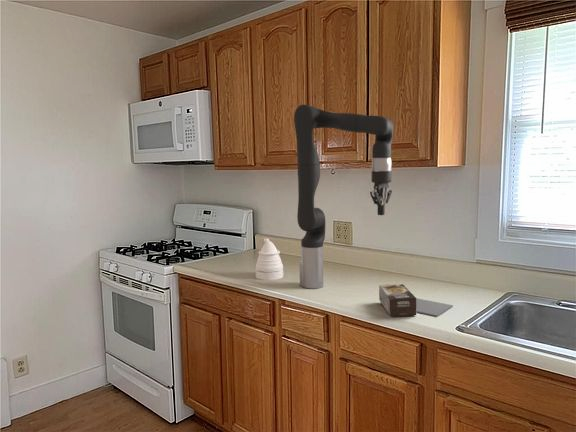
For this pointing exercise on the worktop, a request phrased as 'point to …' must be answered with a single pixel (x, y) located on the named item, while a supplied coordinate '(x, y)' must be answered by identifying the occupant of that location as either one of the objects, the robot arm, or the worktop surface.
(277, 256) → the honey pot
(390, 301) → the coffee box
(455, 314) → the worktop surface
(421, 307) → the mat
